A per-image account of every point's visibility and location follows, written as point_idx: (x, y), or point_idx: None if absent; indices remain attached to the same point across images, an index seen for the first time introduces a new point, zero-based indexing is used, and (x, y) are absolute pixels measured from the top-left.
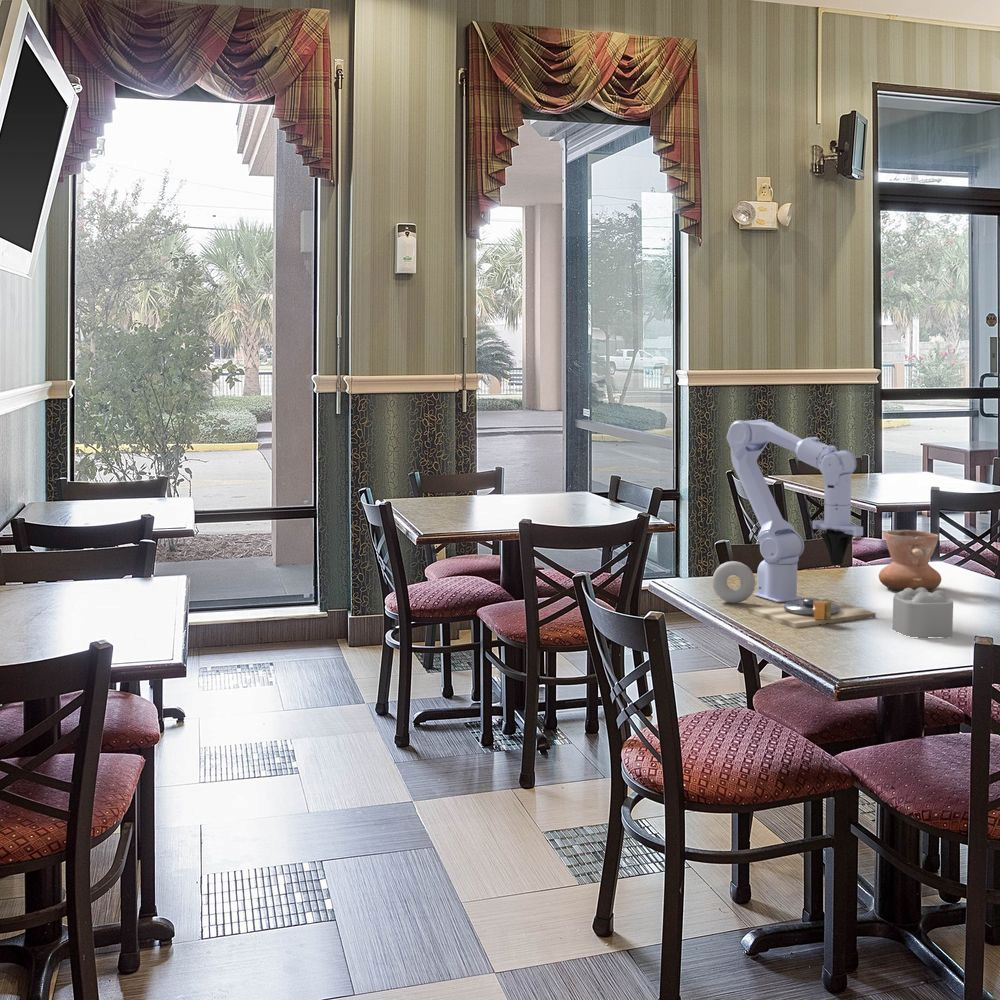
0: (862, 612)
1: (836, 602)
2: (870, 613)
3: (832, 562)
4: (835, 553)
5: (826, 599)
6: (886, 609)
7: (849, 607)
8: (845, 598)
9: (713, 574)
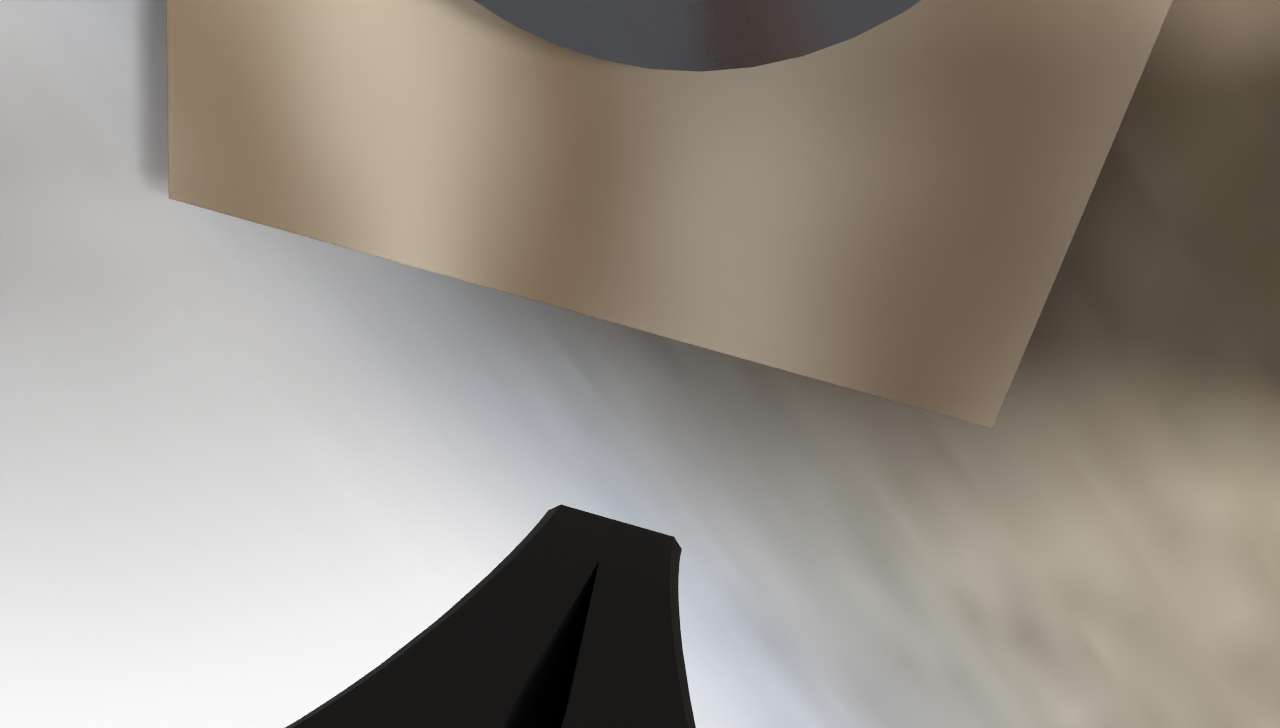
0: (248, 105)
1: (787, 349)
2: (173, 131)
3: (624, 535)
4: (420, 634)
5: (979, 409)
6: (400, 553)
7: (510, 223)
8: (973, 720)
9: None
